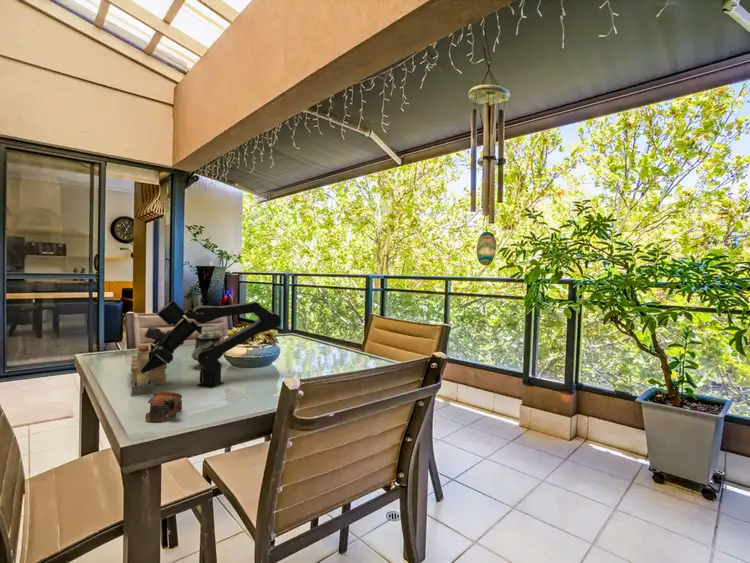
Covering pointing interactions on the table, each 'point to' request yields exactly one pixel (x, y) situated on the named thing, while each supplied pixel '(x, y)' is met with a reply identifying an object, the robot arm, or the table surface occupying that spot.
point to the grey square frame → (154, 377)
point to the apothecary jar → (206, 338)
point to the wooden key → (142, 365)
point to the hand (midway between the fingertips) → (141, 368)
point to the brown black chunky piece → (164, 406)
